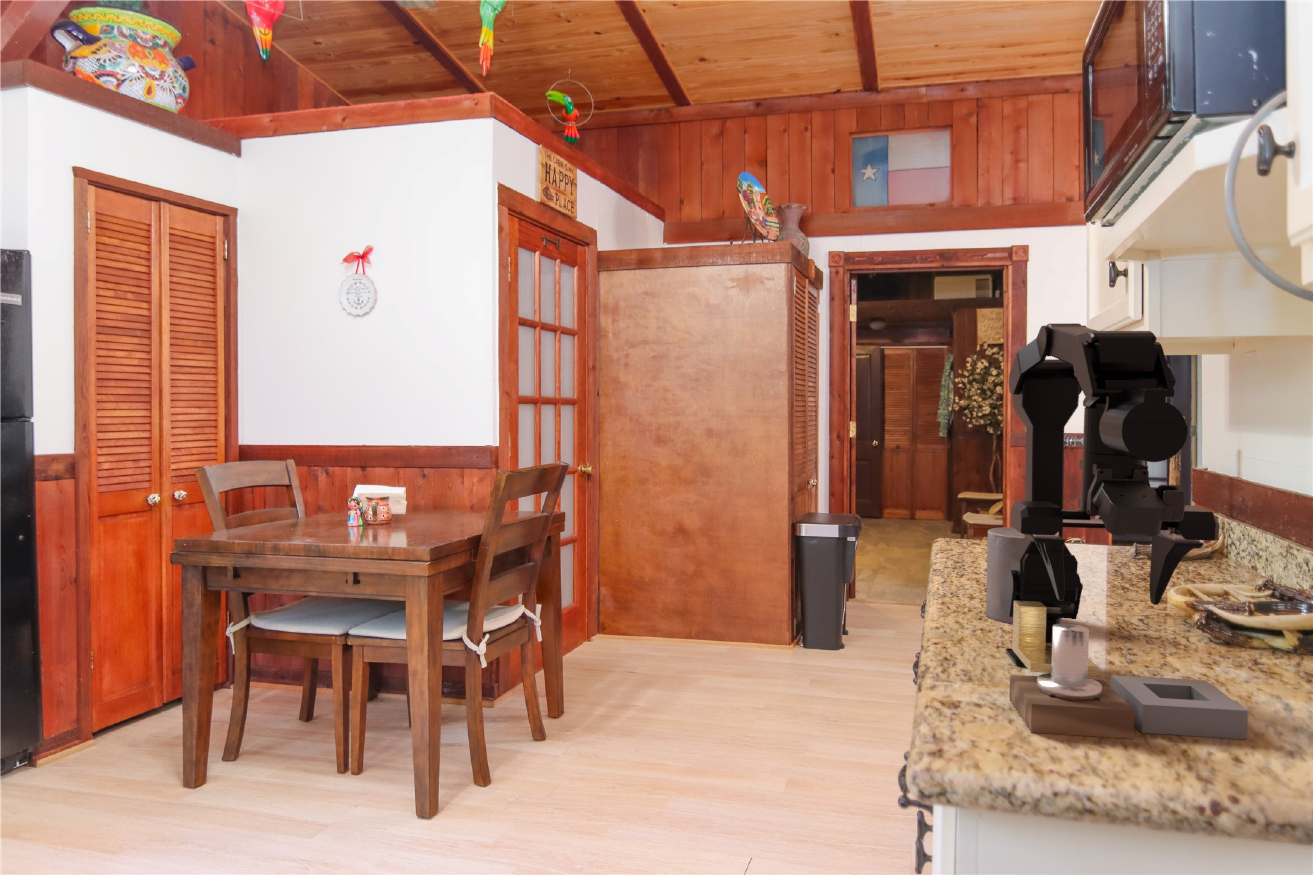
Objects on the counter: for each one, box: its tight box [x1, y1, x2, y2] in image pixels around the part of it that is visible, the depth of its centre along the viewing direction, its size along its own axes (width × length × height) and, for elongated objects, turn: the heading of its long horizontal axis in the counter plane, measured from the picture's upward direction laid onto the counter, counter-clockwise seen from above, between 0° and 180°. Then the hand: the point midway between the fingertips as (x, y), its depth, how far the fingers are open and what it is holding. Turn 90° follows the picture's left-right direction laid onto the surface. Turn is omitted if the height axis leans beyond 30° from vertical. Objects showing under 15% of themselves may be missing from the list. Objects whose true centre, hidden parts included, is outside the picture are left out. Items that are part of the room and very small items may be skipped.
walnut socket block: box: [1008, 674, 1135, 740], centre depth 99 cm, size 10×10×3 cm
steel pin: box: [1037, 623, 1102, 701], centre depth 98 cm, size 6×6×10 cm
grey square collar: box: [1110, 674, 1249, 740], centre depth 99 cm, size 10×10×3 cm
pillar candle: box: [985, 526, 1025, 625], centre depth 143 cm, size 10×10×15 cm
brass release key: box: [1011, 601, 1099, 676], centre depth 105 cm, size 9×7×6 cm
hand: (1106, 601), depth 95 cm, fingers open, 9 cm apart
